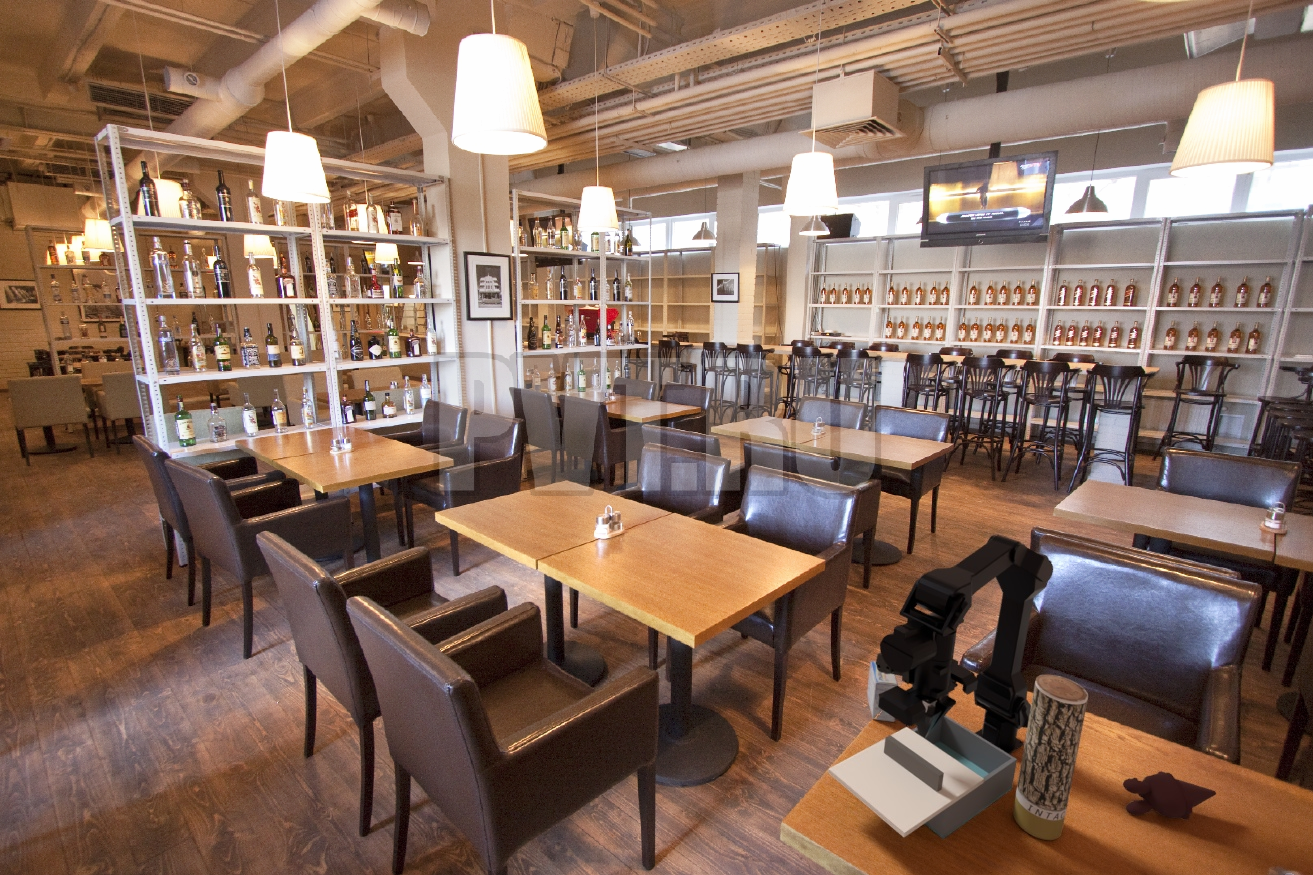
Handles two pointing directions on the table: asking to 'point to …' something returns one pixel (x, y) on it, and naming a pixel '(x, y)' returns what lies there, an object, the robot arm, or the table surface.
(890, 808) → the lid
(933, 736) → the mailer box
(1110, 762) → the table surface
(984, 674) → the robot arm
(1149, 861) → the table surface
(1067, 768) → the paper tube
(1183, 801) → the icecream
